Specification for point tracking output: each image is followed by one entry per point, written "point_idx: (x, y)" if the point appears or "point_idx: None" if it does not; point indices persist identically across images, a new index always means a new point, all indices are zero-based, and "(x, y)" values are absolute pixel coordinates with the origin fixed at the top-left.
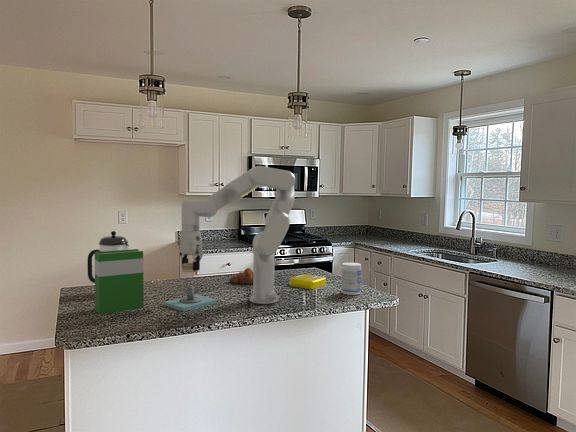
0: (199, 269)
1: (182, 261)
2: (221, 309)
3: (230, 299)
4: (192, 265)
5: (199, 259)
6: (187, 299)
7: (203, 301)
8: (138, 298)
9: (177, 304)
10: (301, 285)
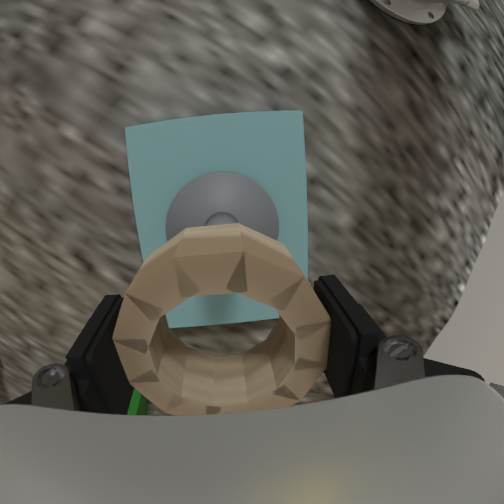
0: (332, 275)
1: (122, 412)
2: (392, 173)
3: (286, 24)
4: (311, 374)
5: (428, 374)
6: None
7: (282, 184)
8: (140, 413)
9: (239, 308)
10: None
